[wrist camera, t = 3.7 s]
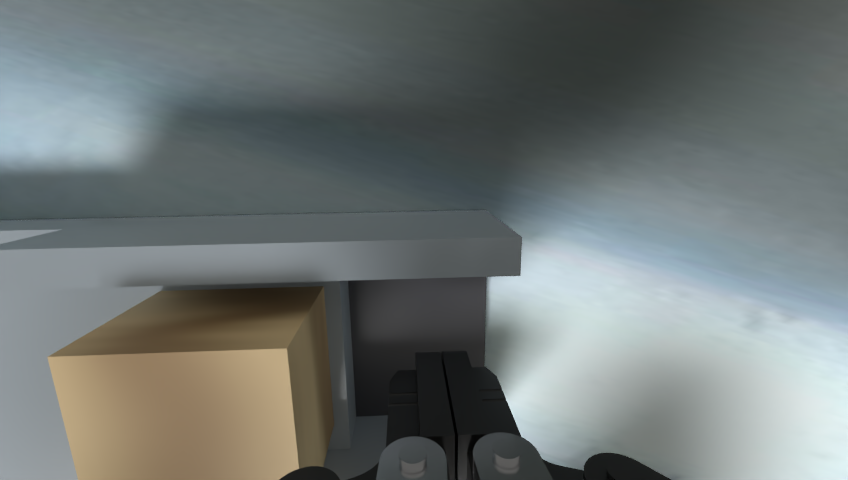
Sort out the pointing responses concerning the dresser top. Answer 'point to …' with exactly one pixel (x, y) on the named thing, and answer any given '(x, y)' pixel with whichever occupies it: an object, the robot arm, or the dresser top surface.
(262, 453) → the oak block
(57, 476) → the grey angular piece
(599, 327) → the dresser top surface
